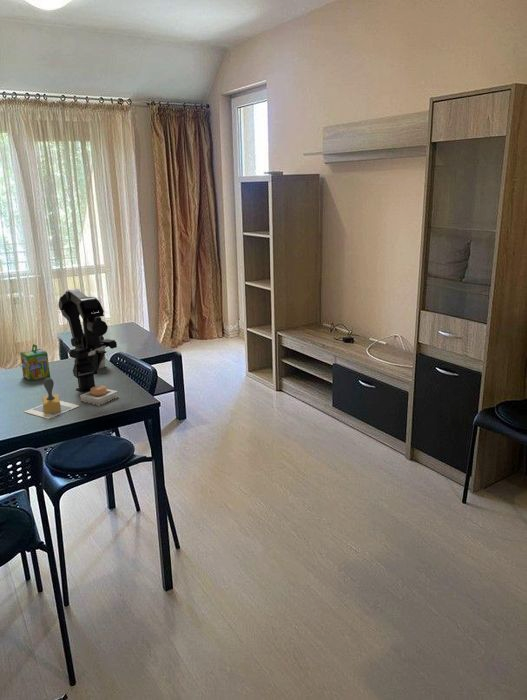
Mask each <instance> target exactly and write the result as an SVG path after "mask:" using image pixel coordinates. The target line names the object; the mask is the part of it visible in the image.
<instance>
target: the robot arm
mask: <svg viewBox="0 0 527 700" xmlns="http://www.w3.org/2000/svg"><path fill="white" fill-rule="evenodd" d="M58 308H59V309H58V310H59V311H60V313H61V315H62V317H64V318H65V319H66V320H67V321H68V325H69V329H70V333H71V337H72V338H70V343H71V346H72V347H74V348H73V349H70V350H69V352H68V353H69V357H70V358H72V359H74V364H73V368H72V373H73V376H74V377H75V378H76V379H77V384H78V387H77V388H75V390H76V391H79V392H84V393H87V392H90V391H91V388H92V387H95V386H96V384H95V383H96V382H95V381H96V380H95V375H98V370H99V369H98V368H99V366H100V363H101V361H102V358H103V356H104V354H105V355H106V353H107V351H106V350H105V351H104V349H103V348H105V349H106V348H108V347H109V348H110V350H111V349H112V350H113V349H116V348H117V347H118V344H117V341H116V340H115V339H109V338H106V339H105V338H104V340H102V341H101V339H100V336H102V335H103V336H105V334H106V333H107V332H108V328H109V327H108V325H107V323H106V322H105V321H104V320H103V319H102V317H104V316H105V315H104V312H105V311H104V308H103V306H102V304H101V302H100V300H99V299H98V298H97V297H95V296H87V295H86V294H84V293H83V292H81V290H80V289H79V288H73V289H67V290H65V292H64V294H62V295H61V296H60V297H59V299H58ZM80 317H81V319H82V323H81V319H80ZM90 349H91V350H90Z"/></svg>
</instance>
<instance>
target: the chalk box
mask: <svg viewBox="0 0 527 700" xmlns="http://www.w3.org/2000/svg"><path fill="white" fill-rule="evenodd" d="M19 353H20V362H21V363H20V364H21V370H22V377H24V379H25V378H26V379H27V380H28V381H30V382H33V381H36V380H41V379H46V378H51V373H50V363H49V355H48V352H47V351H45V350H44V349H41V348H38V345H37V344H34V343H32V347H31V350H26V351H20V352H19Z"/></svg>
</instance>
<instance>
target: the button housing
mask: <svg viewBox="0 0 527 700" xmlns="http://www.w3.org/2000/svg"><path fill="white" fill-rule="evenodd" d="M79 396H80V402H82V401H83V403H86V402H88V403H87V404H90V403H92V405H95V404H96V405H95V406H101V405H103V403H104V404H105V402H106V403H108V402H110V400H111V401H113V400H115V399H117V397H118V398H119V392H118V390H115V389H114V390H113V389H108V388H107V394H105V395H103V396H99V397H95V396H91V391H88V392H84V393H83V394H80V395H79ZM114 398H115V399H114ZM112 399H113V400H112ZM107 401H108V402H107ZM100 404H101V405H100Z"/></svg>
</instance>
